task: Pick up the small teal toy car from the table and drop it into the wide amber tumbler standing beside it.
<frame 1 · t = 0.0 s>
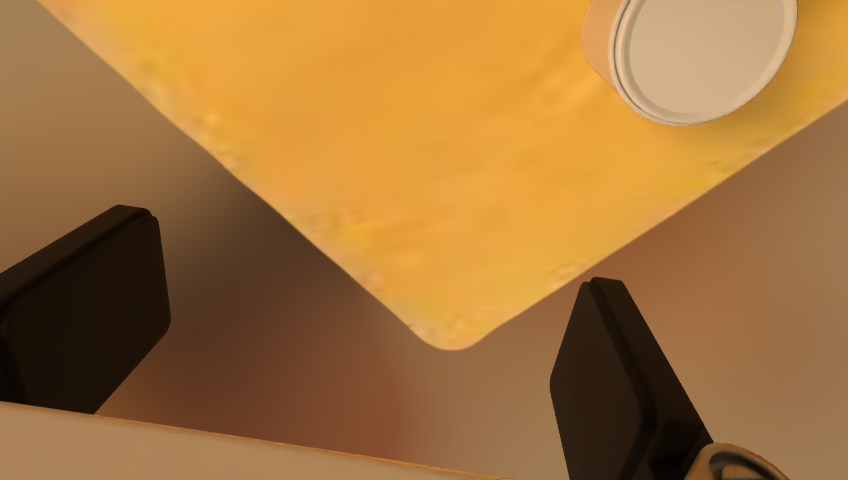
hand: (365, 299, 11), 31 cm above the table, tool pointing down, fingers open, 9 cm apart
coffee cup: (632, 27, 36), on the table
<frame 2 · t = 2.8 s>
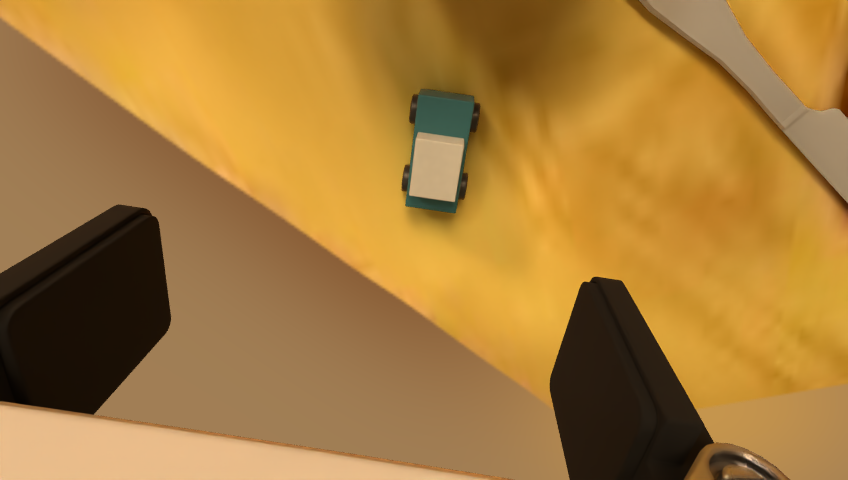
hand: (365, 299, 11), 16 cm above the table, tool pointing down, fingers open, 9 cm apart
toy car: (440, 145, 25), on the table
butter knife: (800, 125, 23), on the table
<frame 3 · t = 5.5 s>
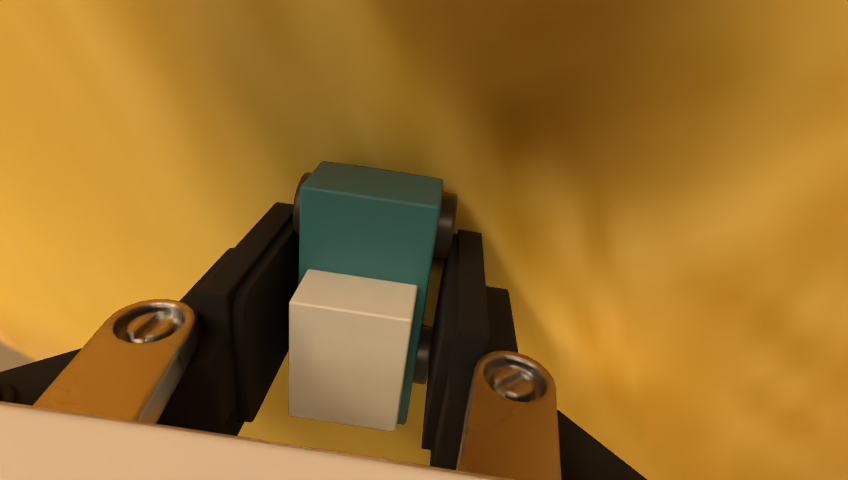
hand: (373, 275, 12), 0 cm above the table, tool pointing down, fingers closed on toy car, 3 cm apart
toy car: (375, 270, 12), on the table, touching gripper
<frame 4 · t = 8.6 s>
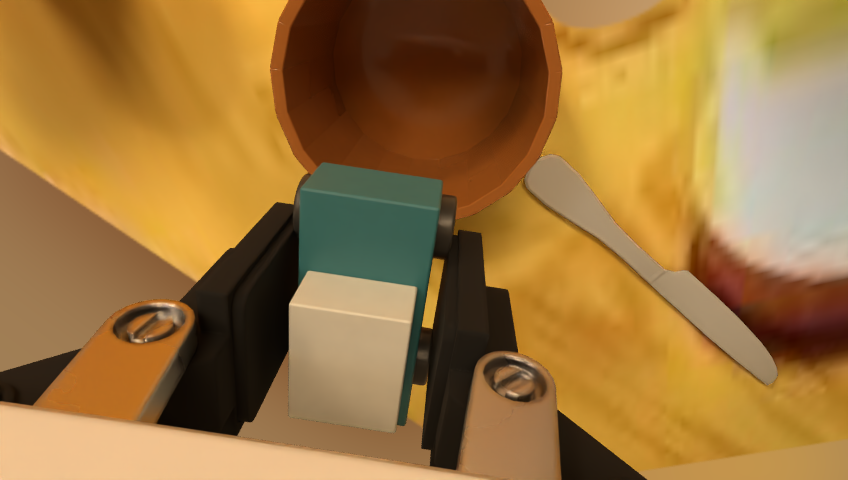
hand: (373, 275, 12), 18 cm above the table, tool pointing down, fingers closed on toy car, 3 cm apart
tumbler: (427, 66, 26), on the table
toy car: (375, 271, 12), point 18 cm above the table, touching gripper
butter knife: (663, 278, 31), on the table
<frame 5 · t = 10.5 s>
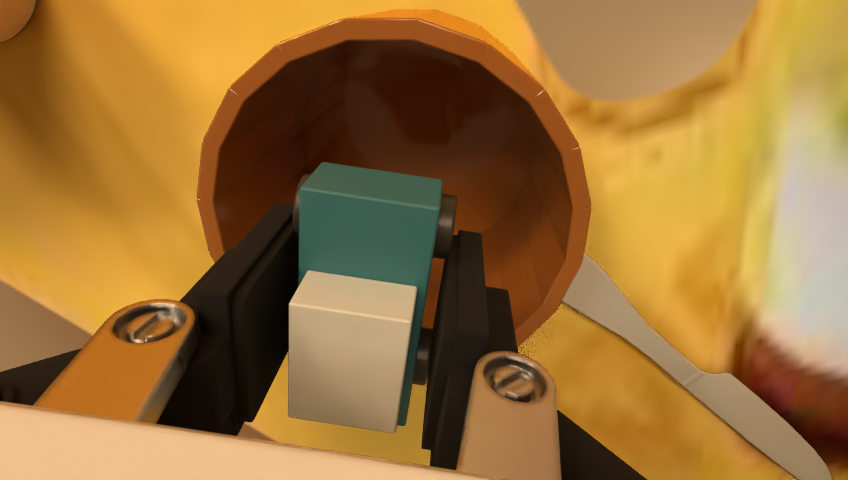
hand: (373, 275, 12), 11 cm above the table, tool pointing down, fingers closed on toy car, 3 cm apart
tumbler: (416, 144, 22), on the table
toy car: (375, 271, 12), point 11 cm above the table, touching gripper
butter knife: (699, 379, 26), on the table
when the fingers open (8 cm above the table, at t = 11.8 s): toy car drops 7 cm, resting on tumbler.
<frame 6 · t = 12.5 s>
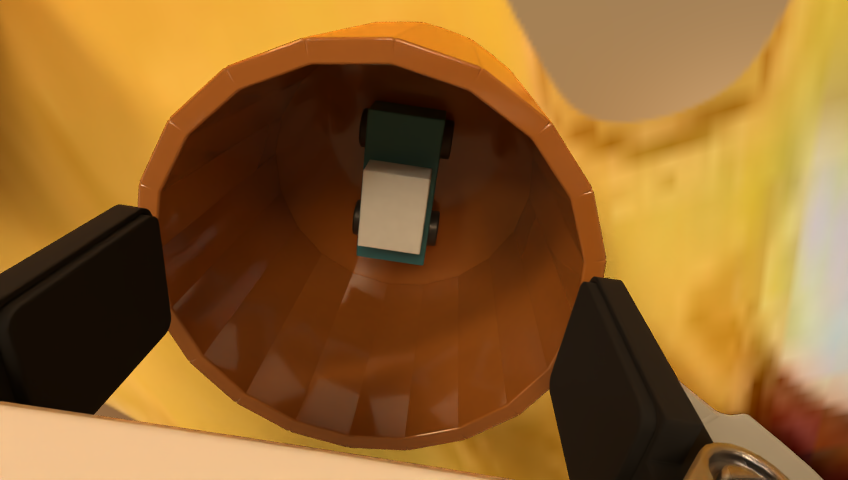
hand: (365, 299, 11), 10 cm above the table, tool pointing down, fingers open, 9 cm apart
tumbler: (404, 170, 20), on the table
toy car: (403, 174, 19), point 1 cm above the table, touching tumbler
butter knife: (714, 419, 24), on the table
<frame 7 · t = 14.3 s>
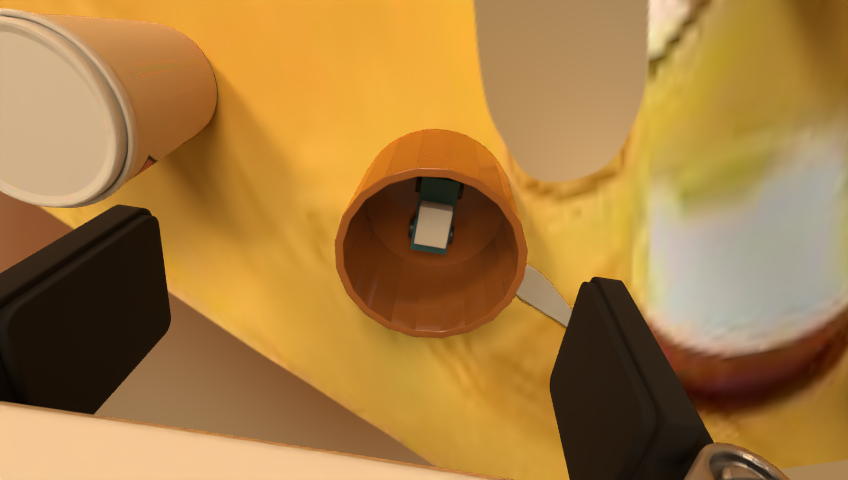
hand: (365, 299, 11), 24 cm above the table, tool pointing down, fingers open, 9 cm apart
coffee cup: (164, 82, 33), on the table
tumbler: (435, 202, 36), on the table
toy car: (435, 205, 35), point 1 cm above the table, touching tumbler
butter knife: (611, 351, 41), on the table
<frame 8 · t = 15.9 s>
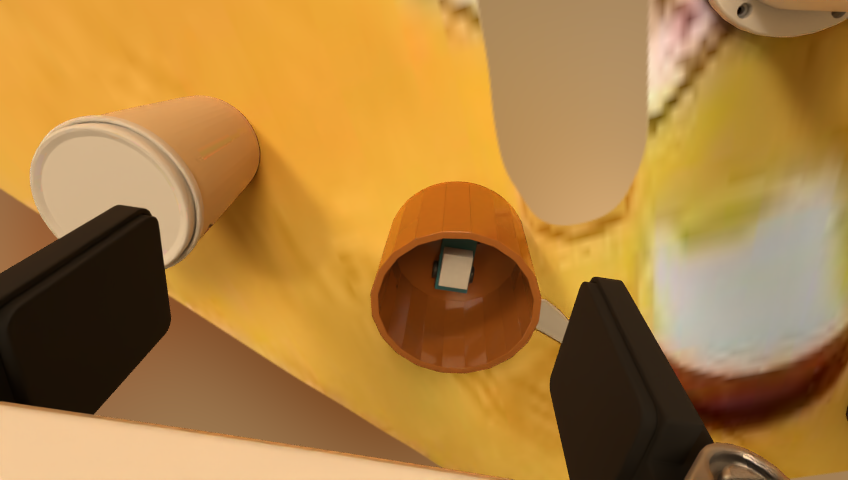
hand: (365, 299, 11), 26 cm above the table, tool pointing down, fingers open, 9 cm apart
coffee cup: (212, 145, 37), on the table
tumbler: (456, 245, 39), on the table
toy car: (456, 248, 39), point 1 cm above the table, touching tumbler
butter knife: (621, 374, 44), on the table
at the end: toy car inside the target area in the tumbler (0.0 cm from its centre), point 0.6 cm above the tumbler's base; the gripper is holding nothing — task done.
